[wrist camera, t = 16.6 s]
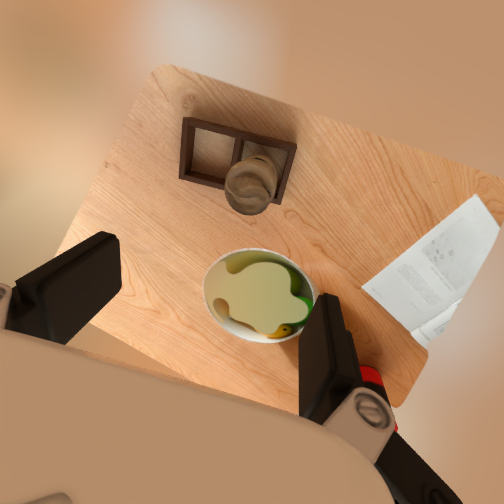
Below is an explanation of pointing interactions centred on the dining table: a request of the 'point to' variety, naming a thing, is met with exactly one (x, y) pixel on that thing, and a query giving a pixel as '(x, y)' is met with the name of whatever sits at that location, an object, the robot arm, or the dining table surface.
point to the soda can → (374, 383)
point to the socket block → (241, 136)
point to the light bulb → (251, 184)
